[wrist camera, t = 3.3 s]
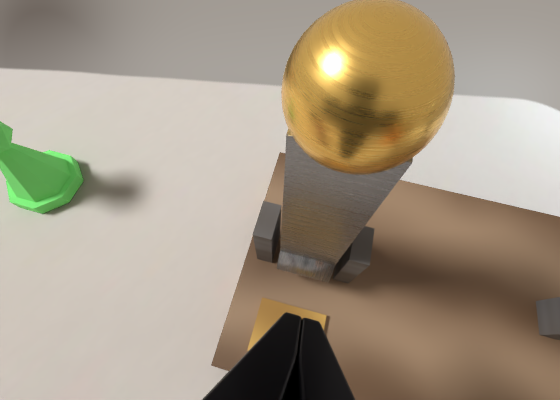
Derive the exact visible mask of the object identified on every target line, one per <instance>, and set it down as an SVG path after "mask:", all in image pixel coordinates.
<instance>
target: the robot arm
mask: <svg viewBox="0 0 560 400" xmlns="http://www.w3.org/2000/svg"><path fill="white" fill-rule="evenodd" d="M202 400H355V398H354V395H353V393H352V391H351V389H350V387H349V384H348V382H347V380H346V378H345V376H344V374H343V371H342V369H341V367H340V365H339V363H338V360H337V358H336V356H335V354H334V352H333V349H332V347H331V345H330V343H329V341H328V339H327V336H326V334H325V332H324V330H323V328H322V325H321V323H320V322H319V321H316V320H313V319H309V318H303V319H302V318H301V317H300V316H298V315H295V314H291V313H288V312H286V313H284V314H283V315H282V316H281V317H280V318H279V319H278V320H277V321H276V322H275V323H274V324H273V325H272V326H271V328H270V329H269V330H268V331H267V332H266V333H265V334H264V335H263V336H262V337H261V338H260V339H259V340H258V341H257V342H256V343H255V344H254V345H253V347H252V348H251V349H250V350H249V351H248V352H247V353H246V354H245V355H244V356H243V357H242V358H241V359H240V360H239V361H238V362H237V363H236V364H235V366H234V367H233V368H232V369H231V370H230V371H229V372H228V373H227V374H226V375H225V376H224V377H223V378H222V379H221V380H220V381H219V382H218V383H217V385H216V386H215V387H214V388H213V389H212V390H211V391H210V392H209V393H208V394H207V395H206V396H205V397H204V398H203V399H202Z"/></svg>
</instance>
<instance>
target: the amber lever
mask: <svg viewBox="0 0 560 400" xmlns="http://www.w3.org/2000/svg"><path fill="white" fill-rule="evenodd" d="M454 78H455V75H454V64H453V59H452V55H451V51H450V49H449V46H448V43H447V41H446V40H445V37H444V36H443V34H442V33H441V31H440V30H439V28H438V27H437V25H436V24H435V23H434V22H433V21H432V20H431V19H430V18H429V17H428V16H427V15H425V14H424V13H423V12H422V11H420V10H419V9H417V8H415V7H414V6H412V5H410V4H407V3H405V2H402V1H399V0H353V1H349V2H346V3H344V4H342V5H340V6H337V7H335V8H333V9H332V10H330V11H328V12H327V13H325V14H324V15H323V16H321V17H320V18H318V20H316V21H315V22H314V23H313V24H312V25H311V26H310V27H309V28H308V29H307V30H306V31H305V32H304V33H303V35H302V36H301V38H300V39H299V40H298V42H297V44H296V45H295V46H294V48H293V51H292V53H291V55H290V57H289V59H288V61H287V65H286V68H285V72H284V75H283V82H282V92H281V94H282V108H283V112H284V116H285V120H286V124H287V126H288V128H289V129H288V132H287V136H286V154H285V172H284V190H283V207H282V225H281V243H280V253H279V258H278V263H277V269H279V270H283V271H287V272H290V273H294V274H298V275H302V276H305V277H309V278H313V279H316V280H320V281H324V282H327V283H328V282H329V281H330V278H331V276H332V273H333V270H334V267H335V265H336V263H337V262H338V261H339V259H340V258H341V257H342V255H343V254H344V253H345V251H346V250H347V249H348V247H349V246H350V245H351V243H352V242H353V241H354V239H355V238H356V237H357V235H358V234H359V233H360V231H361V230H362V229H363V227H364V226H365V225H366V223H367V222H368V221H369V219H370V218H371V217H372V216H373V214H374V213H375V212H376V210H377V209H378V208H379V206H380V205H381V204H382V202H383V201H384V200H385V198H386V197H387V196H388V194H389V193H390V192H391V190H392V189H393V188H394V186H395V185H396V184H397V182H398V181H399V180H400V178H401V177H402V176H403V174H404V173H405V172H406V170H407V169H408V168H409V166H410V165H411V164H412V159H413V157H414V156H415V155H416V154H418V153H419V152H420V151H421V150H422V149H423V148H425V147H426V145H427V144H428V143H429V142H430V141H431V140H432V139H433V137H434V136H435V135H436V133H437V132H438V130H439V129H440V127H441V126H442V124H443V122H444V120H445V118H446V116H447V113H448V111H449V108H450V105H451V101H452V97H453V92H454Z"/></svg>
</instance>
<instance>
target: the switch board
mask: <svg viewBox="0 0 560 400" xmlns="http://www.w3.org/2000/svg"><path fill="white" fill-rule="evenodd" d="M284 172H285V153H281V152H280V154H279V157H278V160H277V163H276V166H275V169H274V172H273V175H272V179H271V182H270V185H269V188H268V191H267V194H266V197H265V200H264V201H263V204H262V207H261V210H260V214H259V217H258V220H257V223H256V226H255V229H254V232H253V237H252V240H251V244H250V247H249V250H248V253H247V256H246V259H245V262H244V265H243V268H242V271H241V275H240V278H239V281H238V284H237V287H236V290H235V293H234V296H233V299H232V302H231V305H230V309H229V312H228V315H227V318H226V321H225V324H224V327H223V330H222V333H221V336H220V340H219V343H218V346H217V349H216V352H215V355H214V358H213V361H212V364H211V365H212V366H215V367H218V368H221V369H224V370H228V371H230V370H231V369H232V368H233V367H234V366H235V364H236V363H237V362H238V361H239V360H240V359H241V358H242V357H243V356H244V355H245V354H246V353H247V352H248V351H249V350H250V349H251V348H252V347H253V345H254V344H255V343H256V342H257V341H258V340H259V339H260V338H261V337H262V336H263V335H264V334H265V333H266V332H267V331H268V330H269V329H270V328H271V326H272V325H273V324H274V323H275V322H276V321H277V320H278V319H279V318H280V317H281V316H282V315H283V314H284V313H286V312H288V313H291V314H295V315H298V316H300V317H301V318H302V319H303V318H309V319H313V320H316V321H319V322H320V323H321V325H322V328H323V330H324V332H325V334H326V336H327V339H328V341H329V343H330V345H331V347H332V349H333V352H334V354H335V356H336V358H337V360H338V363H339V365H340V367H341V369H342V371H343V374H344V376H345V378H346V380H347V382H348V384H349V387H350V389H351V391H352V393H353V395H354V398H355V400H560V217H558V216H553V215H549V214H545V213H540V212H536V211H532V210H527V209H523V208H519V207H514V206H510V205H506V204H501V203H497V202H493V201H488V200H484V199H480V198H475V197H471V196H467V195H462V194H458V193H454V192H449V191H445V190H441V189H436V188H432V187H428V186H423V185H419V184H415V183H410V182H406V181H402V180H399V181H398V182H397V184H396V185H395V186H394V188H393V189H392V190H391V192H390V193H389V194H388V196H387V197H386V198H385V200H384V201H383V202H382V204H381V205H380V206H379V208H378V209H377V210H376V212H375V213H374V214H373V216H372V217H371V218H370V219H369V221H368V222H367V223H366V225H365V226H364V227H363V229H362V230H361V231H360V233H359V234H358V235H357V237H356V238H355V239H354V241H353V242H352V243H351V245H350V246H349V247H348V249H347V250H346V251H345V253H344V254H343V255H342V257H341V258H340V259H339V261H338V262H337V263H336V265H335V267H334V270H333V273H332V276H331V278H330V281H329V282H328V283H327V282H324V281H320V280H316V279H313V278H309V277H305V276H302V275H298V274H294V273H290V272H287V271H283V270H279V269H277V263H278V258H279V253H280V243H281V225H282V207H283V190H284Z"/></svg>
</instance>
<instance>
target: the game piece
mask: <svg viewBox="0 0 560 400" xmlns="http://www.w3.org/2000/svg"><path fill="white" fill-rule="evenodd" d="M12 131H13V129H12V128H10V127H8V126H7V125H5V124H4V123H2V122H0V169H1V171H2V173H3V174H4V176H5V178H6V180H7V181H6V184H7V189H8V195H9V200H10V202H11V203H13V204H15V205H16V206H18V207H21V208H24V209H27V210H31V211H34V212H38V213H41V214H43V213H46V212H48V211H50V210H53V209H55V208H57V207H60V206H62V205H65V204H67V203H69V202H70V201H71V199H72V198H73V196H74V195H75V193H76V192H77V190H78V189H79V187H80V186H81V184H82V183H83V181H84V180H83V177H82V174H81V171H80V168H79V164H78V162H77V161H76V160H75V159H74V158H73V157H71V156H69V155H65V154H61V153H58V152H54V151H50V150H48V151H46V152H39V151H36V150H33V149H30V148H27V147H23V146H20V145H17V144H14V143H11V140H12Z"/></svg>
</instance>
